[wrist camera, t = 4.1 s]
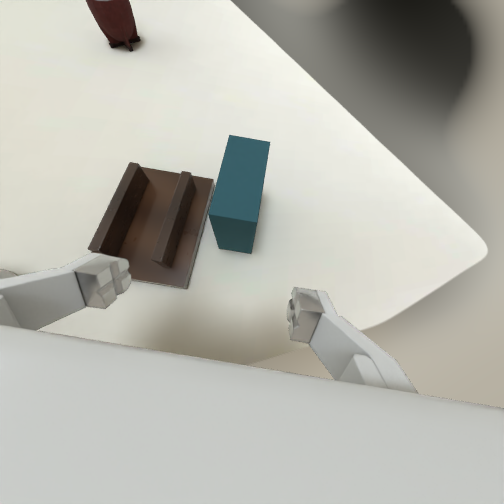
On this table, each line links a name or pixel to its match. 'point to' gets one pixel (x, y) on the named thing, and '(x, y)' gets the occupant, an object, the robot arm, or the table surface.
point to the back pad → (239, 193)
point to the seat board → (155, 224)
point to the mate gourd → (115, 21)
